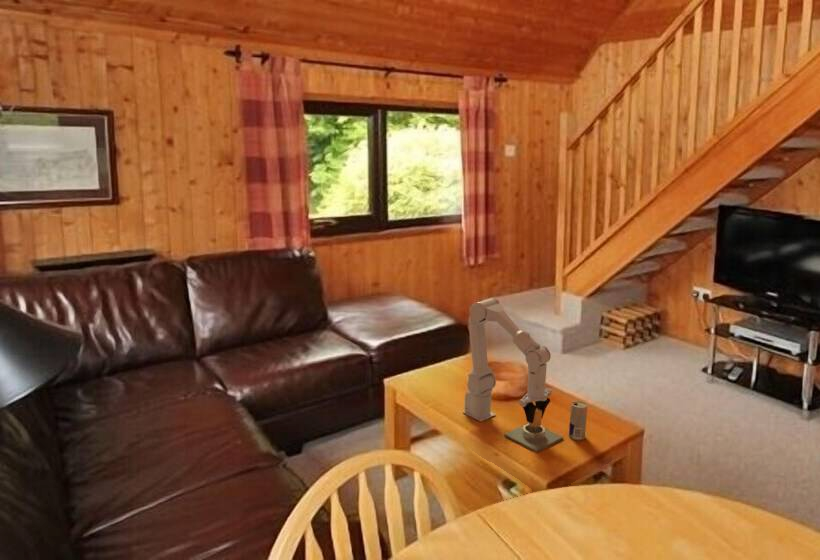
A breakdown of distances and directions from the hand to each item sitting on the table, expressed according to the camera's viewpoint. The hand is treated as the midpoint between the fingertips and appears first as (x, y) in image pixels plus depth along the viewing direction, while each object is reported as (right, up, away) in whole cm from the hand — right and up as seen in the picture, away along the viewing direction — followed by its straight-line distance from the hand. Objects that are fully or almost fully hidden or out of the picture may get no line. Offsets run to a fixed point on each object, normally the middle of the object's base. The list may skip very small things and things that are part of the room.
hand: (534, 419), depth 201 cm
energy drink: (+15, -7, +2) cm, 17 cm away
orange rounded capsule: (0, -1, 0) cm, 1 cm away
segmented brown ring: (0, -6, +2) cm, 7 cm away
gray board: (0, -6, +2) cm, 7 cm away
